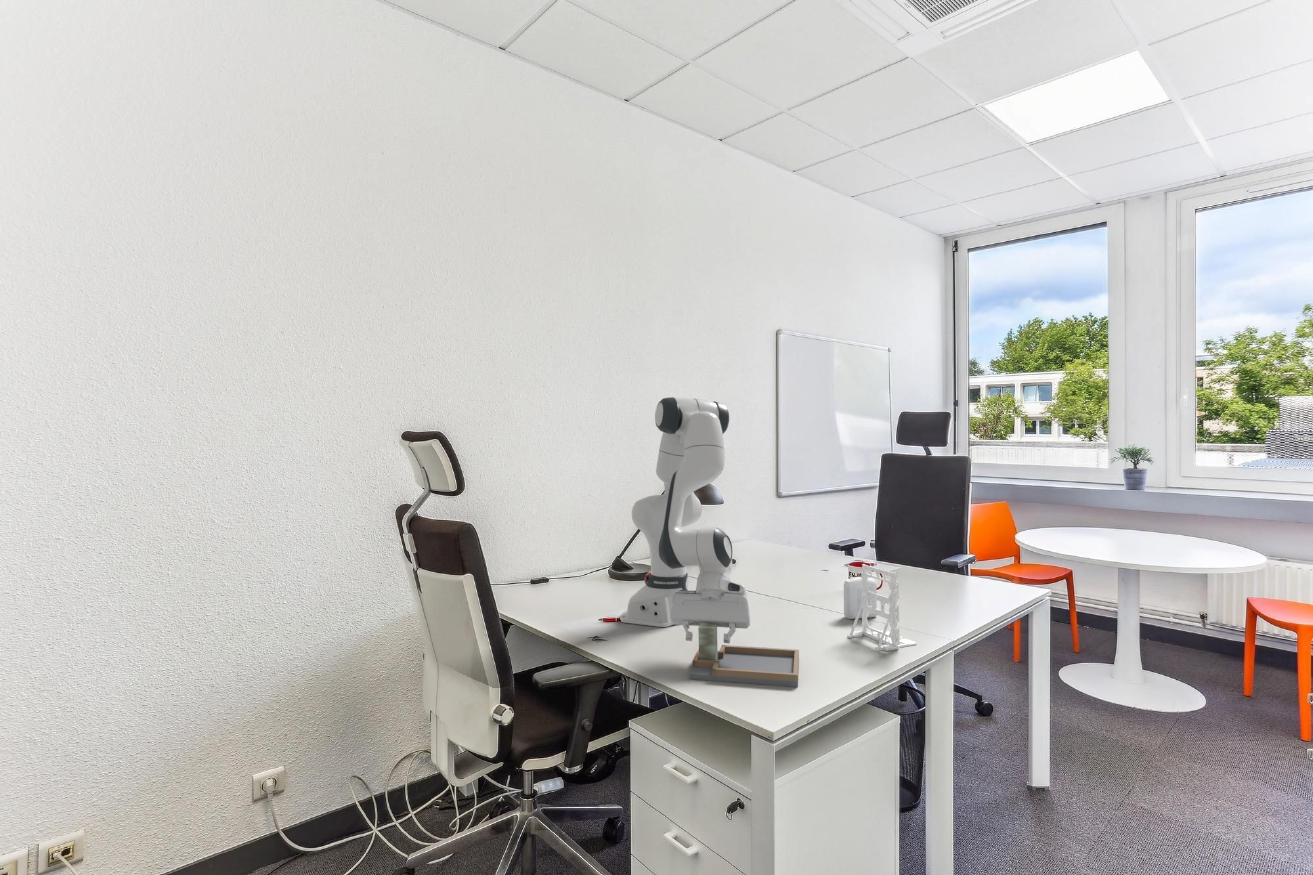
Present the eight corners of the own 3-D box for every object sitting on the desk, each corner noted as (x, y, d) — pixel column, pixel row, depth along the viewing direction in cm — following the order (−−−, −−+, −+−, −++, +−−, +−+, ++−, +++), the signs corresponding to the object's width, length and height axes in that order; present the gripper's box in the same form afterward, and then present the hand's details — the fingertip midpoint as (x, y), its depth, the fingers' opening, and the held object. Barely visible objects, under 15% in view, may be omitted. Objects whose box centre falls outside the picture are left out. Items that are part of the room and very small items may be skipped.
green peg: (699, 664, 154) (698, 627, 154) (701, 658, 158) (701, 622, 158) (715, 665, 153) (714, 628, 153) (717, 659, 157) (716, 623, 157)
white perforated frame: (921, 645, 168) (920, 570, 168) (879, 652, 163) (878, 575, 163) (884, 630, 181) (883, 561, 181) (844, 636, 176) (843, 565, 176)
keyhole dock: (689, 678, 148) (688, 667, 148) (701, 654, 164) (700, 643, 164) (797, 686, 142) (797, 674, 142) (799, 660, 158) (798, 649, 158)
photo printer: (871, 613, 198) (870, 574, 198) (879, 617, 194) (878, 577, 194) (841, 616, 195) (841, 576, 195) (849, 620, 191) (848, 579, 191)
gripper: (671, 583, 164) (664, 632, 155) (750, 586, 160) (747, 637, 150) (675, 596, 169) (668, 644, 159) (752, 599, 164) (749, 649, 154)
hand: (707, 641), depth 155 cm, fingers open, 8 cm apart
